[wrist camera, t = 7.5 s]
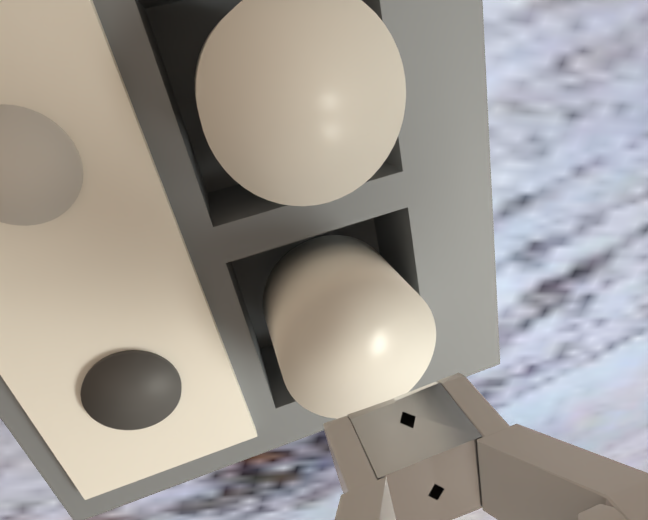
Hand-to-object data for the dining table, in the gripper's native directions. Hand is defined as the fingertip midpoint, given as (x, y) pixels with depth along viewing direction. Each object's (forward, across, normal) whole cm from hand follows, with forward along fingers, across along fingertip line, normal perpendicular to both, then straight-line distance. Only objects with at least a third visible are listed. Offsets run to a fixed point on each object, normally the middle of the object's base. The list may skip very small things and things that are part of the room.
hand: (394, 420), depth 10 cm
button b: (+5, 0, -6) cm, 8 cm away
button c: (+5, 0, 0) cm, 5 cm away
